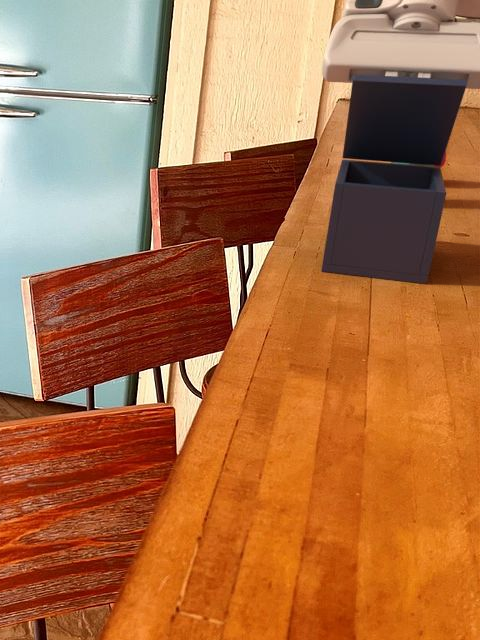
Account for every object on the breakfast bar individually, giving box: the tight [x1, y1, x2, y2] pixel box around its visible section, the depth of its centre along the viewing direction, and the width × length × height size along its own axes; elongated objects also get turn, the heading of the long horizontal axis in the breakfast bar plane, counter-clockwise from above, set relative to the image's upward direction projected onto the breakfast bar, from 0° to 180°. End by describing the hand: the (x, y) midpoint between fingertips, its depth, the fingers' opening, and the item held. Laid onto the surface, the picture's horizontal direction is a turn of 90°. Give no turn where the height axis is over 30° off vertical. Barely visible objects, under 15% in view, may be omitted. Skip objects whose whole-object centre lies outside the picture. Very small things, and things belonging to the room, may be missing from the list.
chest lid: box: [342, 75, 467, 166], centre depth 109 cm, size 17×12×1 cm
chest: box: [320, 159, 447, 285], centre depth 112 cm, size 16×12×11 cm
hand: (402, 108), depth 107 cm, fingers closed, pressing on chest lid
